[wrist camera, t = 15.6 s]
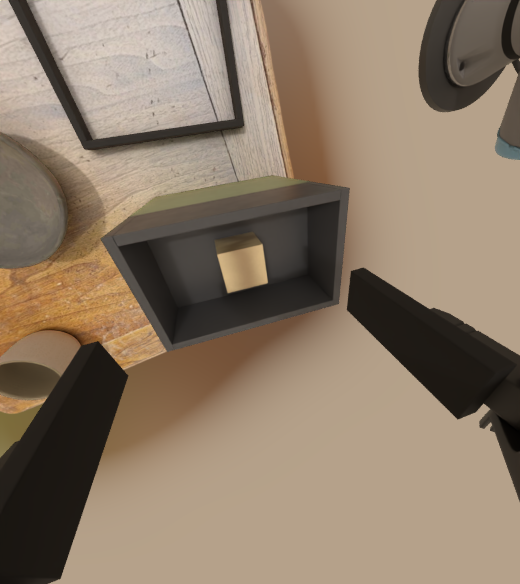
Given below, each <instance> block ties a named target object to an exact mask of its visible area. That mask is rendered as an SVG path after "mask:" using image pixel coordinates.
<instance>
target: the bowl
mask: <svg viewBox="0 0 520 584" xmlns="http://www.w3.org/2000/svg"><path fill="white" fill-rule="evenodd" d="M67 227H68V206H67V202H66V198H65V196H64V193H63V191H62V189H61V187H60V185H59V183H58V181H57V180H56V178H55V177H54V176H53V174H52V173H51V172H50V171H49V169H48V168H47V167H46V166H45V165H44V164H43V163H42V162H41V161H40V160H39V159H38V158H37V157H35V156H34V155H33V154H32V153H31V152H29V151H28V150H27V149H26V148H25V147H23V146H22V145H20V144H19V143H17V142H16V141H14V140H13V139H11V138H10V137H8V136H6V135H5V134H3V133H1V132H0V268H6V269H9V268H23V267H29V266H33V265H36V264H38V263H41V262H43V261H45V260H47V259H48V258H49V257H51V256H52V255H53V254H54V253H55V252H56V251H57V250H58V248H59V247H60V246H61V244H62V242H63V240H64V238H65V235H66V232H67Z"/></svg>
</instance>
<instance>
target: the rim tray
mask: <svg viewBox="0 0 520 584" xmlns="http://www.w3.org/2000/svg"><path fill="white" fill-rule="evenodd" d="M9 2H10V4H11V6H12V8H13V10H14V12H15V14H16V16H17V18H18V20H19V22H20V24H21V26H22V28H23V30H24V32H25V34H26V36H27V38H28V39H29V41H30V43H31V45H32V47H33V49H34V51H35V53H36V55H37V57H38V59H39V61H40V63H41V65H42V67H43V69H44V71H45V73H46V75H47V77H48V79H49V81H50V83H51V85H52V87H53V89H54V91H55V93H56V95H57V96H58V98H59V100H60V102H61V104H62V106H63V108H64V110H65V112H66V114H67V116H68V118H69V120H70V122H71V124H72V126H73V128H74V130H75V132H76V134H77V136H78V138H79V140H80V141H81V144H82V146H83V148H84V149H86V150H96V149H103V148H109V147H116V146H123V145H129V144H136V143H143V142H149V141H156V140H162V139H169V138H176V137H182V136H189V135H196V134H202V133H209V132H215V131H222V130H229V129H235V128H242V127H243V126H244V121H243V114H242V107H241V100H240V93H239V86H238V79H237V72H236V65H235V59H234V52H233V45H232V38H231V31H230V24H229V17H228V10H227V3H226V0H216V4H217V10H218V16H219V22H220V29H221V35H222V41H223V47H224V54H225V60H226V66H227V72H228V79H229V85H230V91H231V97H232V104H233V110H234V116H235V119H234V120H227V121H220V122H213V123H206V124H199V125H192V126H185V127H179V128H172V129H165V130H158V131H151V132H144V133H137V134H130V135H123V136H117V137H110V138H103V139H96V140H93V139H92V137H91V135H90V133H89V131H88V129H87V127H86V125H85V123H84V120H83V118H82V116H81V114H80V112H79V110H78V108H77V106H76V104H75V102H74V100H73V98H72V95H71V93H70V91H69V89H68V87H67V85H66V83H65V81H64V79H63V77H62V75H61V73H60V70H59V68H58V66H57V64H56V62H55V60H54V58H53V56H52V54H51V52H50V50H49V48H48V45H47V43H46V41H45V39H44V37H43V35H42V33H41V31H40V29H39V27H38V25H37V23H36V20H35V18H34V16H33V14H32V12H31V10H30V8H29V6H28V4H27V2H26V0H9Z"/></svg>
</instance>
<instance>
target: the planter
mask: <svg viewBox="0 0 520 584" xmlns="http://www.w3.org/2000/svg"><path fill="white" fill-rule="evenodd" d="M80 347H81V345H80V343H79V342H78V340H77V339H75V338H74V337H73V336H71V335H69V334H67V333H64V332H61V331H55V330H44V331H38V332H35V333H32V334H29V335H27V336H25V337H24V338H22V339H20V340H19V341H18V342H16V343H15V344H14V345H13V346H12V347H11V348H9V349H8V350H7V351H6V352H5V353H4V354H3V355H2V356H1V357H0V395H2V396H5V397H8V398H12V399H18V400H40V399H46V398H47V397H48V396H49V394H50V393H51V391H52V390H53V388H54V387H55V385H56V384H57V382H58V381H59V379H60V377H61V376H62V374H63V373H64V371H65V370H66V368H67V367H68V365H69V364H70V362H71V361H72V359H73V357H74V356H75V354H76V353H77V351H78V350H79V348H80Z"/></svg>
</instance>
